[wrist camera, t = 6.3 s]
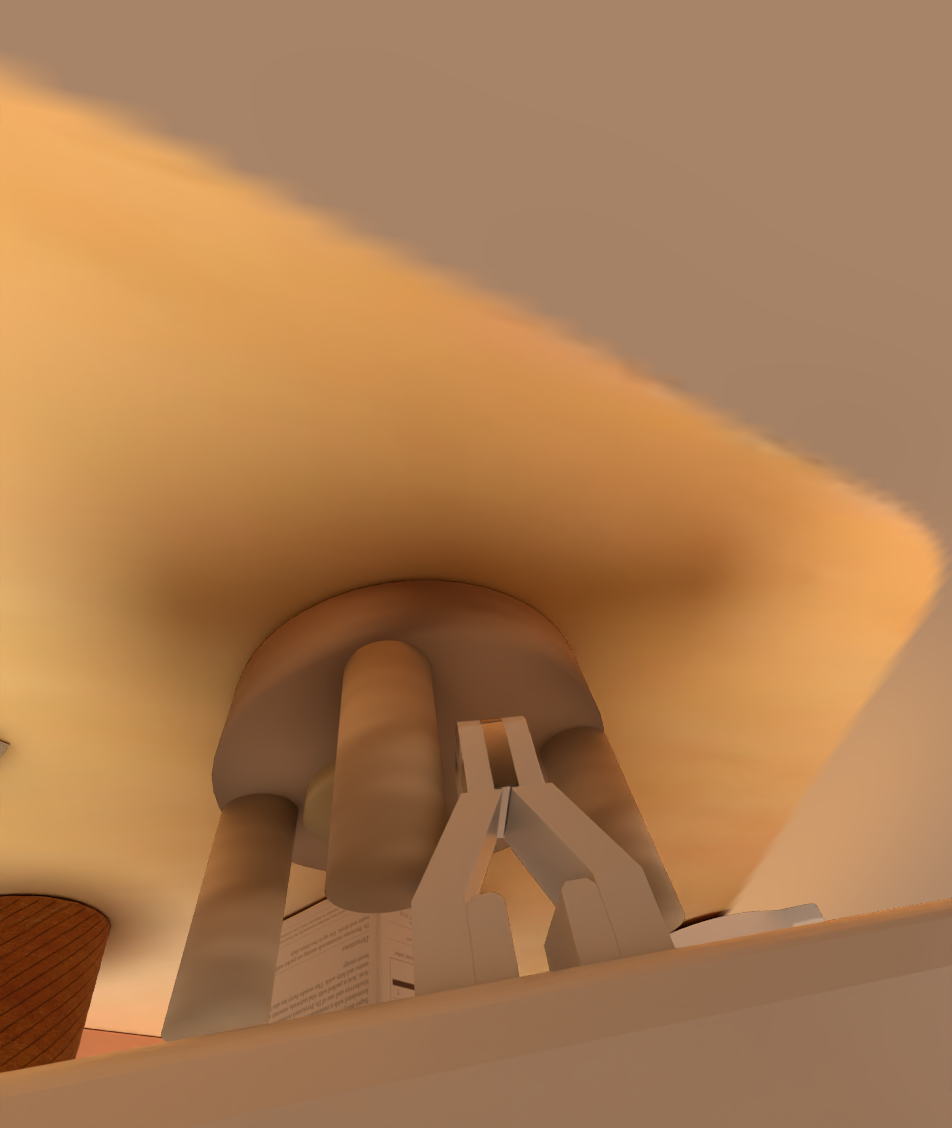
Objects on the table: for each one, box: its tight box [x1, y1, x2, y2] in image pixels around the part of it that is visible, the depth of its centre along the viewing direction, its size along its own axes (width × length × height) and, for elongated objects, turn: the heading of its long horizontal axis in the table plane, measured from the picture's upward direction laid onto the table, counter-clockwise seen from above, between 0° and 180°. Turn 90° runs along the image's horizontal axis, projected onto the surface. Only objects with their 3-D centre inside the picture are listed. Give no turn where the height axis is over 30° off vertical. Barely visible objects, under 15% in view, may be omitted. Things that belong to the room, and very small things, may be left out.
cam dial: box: [161, 580, 685, 1042], centre depth 14 cm, size 12×12×8 cm
